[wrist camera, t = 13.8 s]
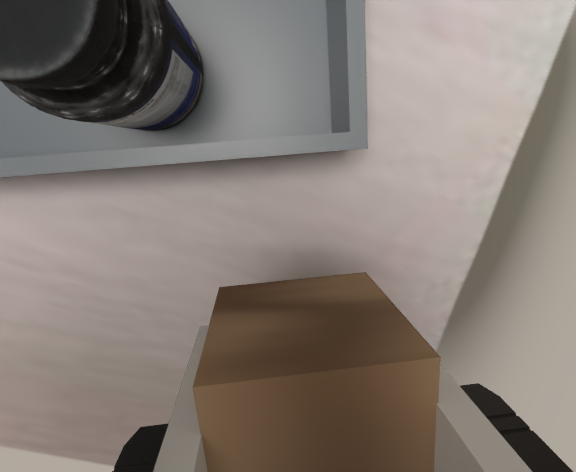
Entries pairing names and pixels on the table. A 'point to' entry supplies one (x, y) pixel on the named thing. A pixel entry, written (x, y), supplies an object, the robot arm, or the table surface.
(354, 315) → the walnut cube
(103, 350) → the table surface
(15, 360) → the table surface
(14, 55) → the pill bottle
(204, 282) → the table surface
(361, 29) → the tote
